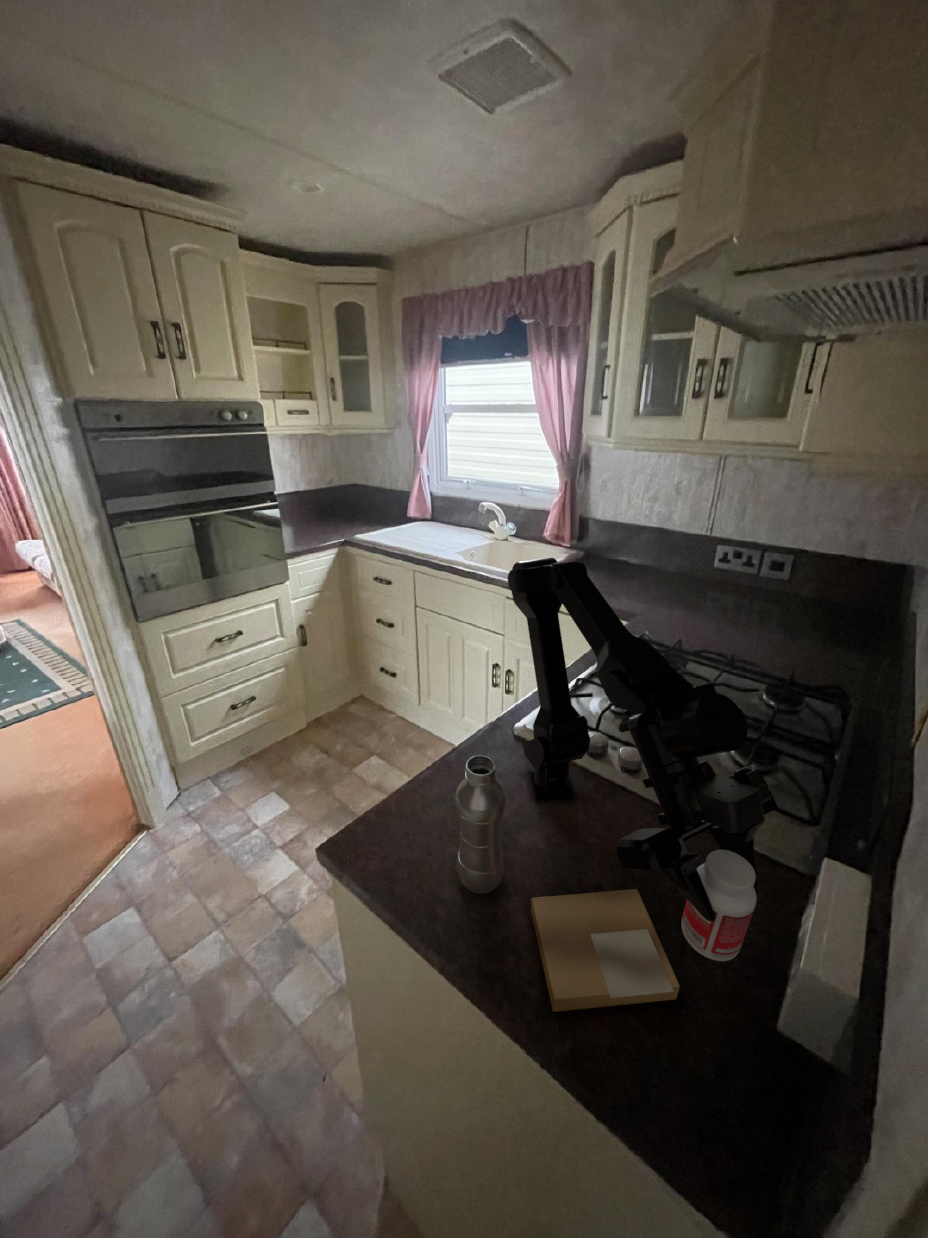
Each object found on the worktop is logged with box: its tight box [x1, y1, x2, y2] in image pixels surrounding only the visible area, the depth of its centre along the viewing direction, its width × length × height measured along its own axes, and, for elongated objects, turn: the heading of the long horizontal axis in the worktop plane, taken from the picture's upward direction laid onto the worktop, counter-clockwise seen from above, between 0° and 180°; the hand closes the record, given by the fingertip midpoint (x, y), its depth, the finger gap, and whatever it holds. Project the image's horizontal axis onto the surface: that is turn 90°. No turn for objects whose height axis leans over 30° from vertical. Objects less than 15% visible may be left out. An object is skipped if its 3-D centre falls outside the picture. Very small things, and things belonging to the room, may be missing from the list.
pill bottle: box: [681, 849, 758, 962], centre depth 56 cm, size 6×6×11 cm
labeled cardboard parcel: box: [530, 888, 681, 1013], centre depth 61 cm, size 12×14×3 cm
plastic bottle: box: [454, 755, 506, 895], centre depth 67 cm, size 6×7×20 cm
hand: (732, 907), depth 54 cm, fingers closed on pill bottle, 6 cm apart
